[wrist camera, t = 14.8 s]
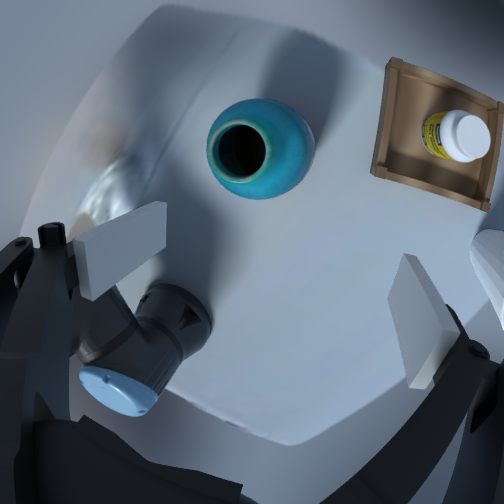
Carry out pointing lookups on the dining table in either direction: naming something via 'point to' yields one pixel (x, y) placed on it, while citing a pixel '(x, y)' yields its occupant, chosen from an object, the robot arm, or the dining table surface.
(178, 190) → the dining table surface
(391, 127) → the crate
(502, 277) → the cup
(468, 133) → the pill bottle
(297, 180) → the vase
